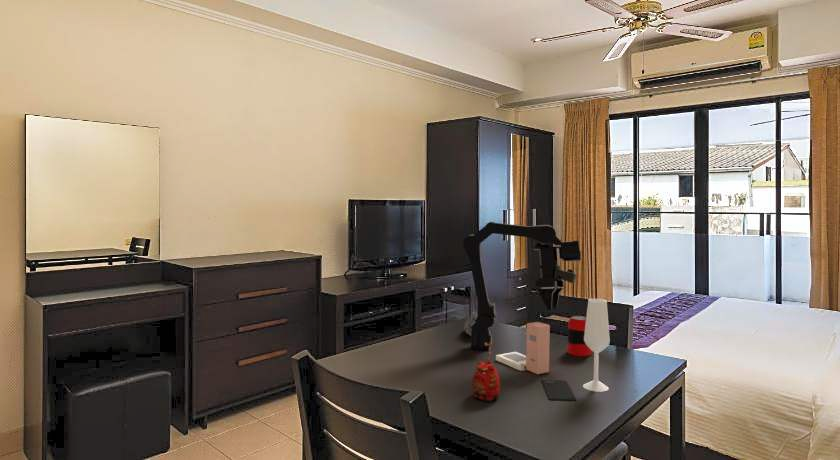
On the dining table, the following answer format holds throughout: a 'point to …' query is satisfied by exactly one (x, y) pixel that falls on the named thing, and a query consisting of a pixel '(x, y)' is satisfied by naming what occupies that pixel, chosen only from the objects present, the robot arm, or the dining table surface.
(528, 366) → the block
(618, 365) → the dining table surface
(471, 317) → the mineral rock
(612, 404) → the dining table surface
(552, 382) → the smartphone
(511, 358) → the pad
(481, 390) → the red clay folk toy
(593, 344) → the champagne flute
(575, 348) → the soda can
